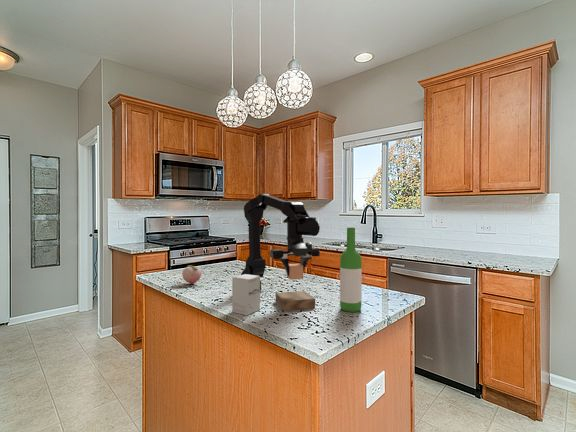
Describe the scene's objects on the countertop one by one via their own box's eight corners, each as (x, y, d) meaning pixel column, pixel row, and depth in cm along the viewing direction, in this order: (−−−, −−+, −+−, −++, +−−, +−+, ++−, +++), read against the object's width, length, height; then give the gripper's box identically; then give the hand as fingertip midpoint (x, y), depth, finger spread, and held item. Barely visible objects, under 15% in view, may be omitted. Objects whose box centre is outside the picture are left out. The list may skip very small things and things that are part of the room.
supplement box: (247, 315, 110) (247, 279, 110) (231, 312, 114) (231, 276, 114) (260, 310, 116) (260, 275, 116) (244, 306, 120) (244, 273, 120)
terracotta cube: (290, 279, 120) (290, 266, 120) (286, 277, 125) (286, 264, 125) (303, 278, 121) (303, 265, 121) (299, 276, 126) (298, 263, 126)
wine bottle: (365, 309, 118) (365, 227, 117) (354, 314, 112) (354, 228, 111) (347, 304, 123) (347, 226, 122) (335, 309, 117) (336, 227, 116)
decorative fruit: (178, 284, 155) (178, 264, 155) (191, 281, 162) (191, 262, 162) (191, 287, 150) (191, 266, 150) (204, 284, 157) (204, 263, 157)
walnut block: (284, 312, 115) (284, 301, 115) (275, 303, 127) (275, 292, 127) (315, 309, 119) (315, 298, 119) (304, 300, 130) (304, 290, 130)
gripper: (276, 237, 112) (277, 281, 113) (325, 235, 118) (325, 277, 118) (269, 234, 123) (269, 275, 123) (314, 233, 129) (314, 272, 129)
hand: (294, 275), depth 123 cm, fingers closed on terracotta cube, 5 cm apart
